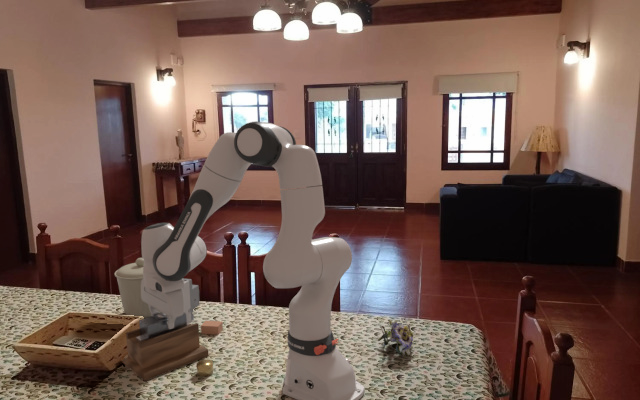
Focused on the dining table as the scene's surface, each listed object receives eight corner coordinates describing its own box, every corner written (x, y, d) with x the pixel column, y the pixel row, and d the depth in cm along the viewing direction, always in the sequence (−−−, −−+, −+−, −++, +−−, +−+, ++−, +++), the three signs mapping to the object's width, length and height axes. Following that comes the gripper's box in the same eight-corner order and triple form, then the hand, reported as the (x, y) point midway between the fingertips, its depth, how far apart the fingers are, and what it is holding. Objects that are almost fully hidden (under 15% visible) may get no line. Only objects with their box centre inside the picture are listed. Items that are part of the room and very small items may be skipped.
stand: (208, 355, 144) (207, 326, 143) (144, 381, 130) (142, 348, 129) (182, 338, 155) (180, 311, 154) (120, 360, 142) (118, 330, 140)
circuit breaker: (202, 312, 177) (200, 273, 174) (181, 328, 163) (178, 286, 161) (184, 310, 179) (182, 272, 176) (162, 326, 165) (159, 284, 163)
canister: (125, 327, 164) (121, 268, 160) (112, 311, 178) (107, 256, 175) (177, 315, 175) (173, 259, 171) (160, 300, 189) (157, 248, 185)
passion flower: (406, 371, 145) (408, 352, 137) (372, 358, 149) (372, 339, 140) (416, 339, 152) (419, 319, 144) (383, 328, 156) (384, 308, 147)
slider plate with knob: (142, 344, 134) (141, 324, 133) (134, 338, 138) (132, 318, 137) (192, 327, 145) (191, 308, 144) (183, 322, 149) (182, 304, 148)
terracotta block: (222, 329, 162) (222, 321, 162) (218, 335, 159) (218, 326, 158) (205, 328, 163) (205, 320, 163) (201, 334, 159) (200, 325, 159)
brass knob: (216, 373, 134) (215, 363, 134) (202, 379, 131) (202, 369, 131) (207, 367, 137) (207, 357, 137) (194, 373, 134) (193, 363, 134)
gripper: (133, 272, 144) (137, 316, 146) (166, 289, 129) (169, 337, 132) (153, 268, 148) (156, 310, 150) (187, 283, 134) (189, 330, 136)
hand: (162, 323), depth 141 cm, fingers open, 8 cm apart
